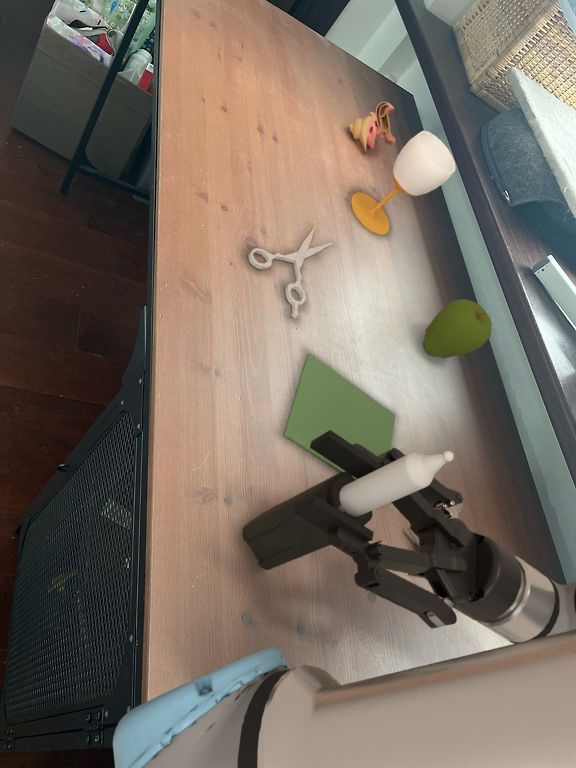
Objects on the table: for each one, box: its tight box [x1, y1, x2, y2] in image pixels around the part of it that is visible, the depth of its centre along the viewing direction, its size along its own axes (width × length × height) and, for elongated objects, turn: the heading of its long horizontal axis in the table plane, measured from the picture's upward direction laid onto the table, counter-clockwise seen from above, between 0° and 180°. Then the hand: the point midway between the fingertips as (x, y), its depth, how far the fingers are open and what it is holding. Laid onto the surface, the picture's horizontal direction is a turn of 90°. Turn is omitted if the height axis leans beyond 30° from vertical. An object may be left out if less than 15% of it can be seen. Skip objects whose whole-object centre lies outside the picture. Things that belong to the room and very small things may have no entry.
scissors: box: [247, 224, 335, 319], centre depth 90 cm, size 11×1×20 cm
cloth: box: [283, 352, 396, 480], centre depth 81 cm, size 14×16×1 cm
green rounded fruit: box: [422, 298, 493, 359], centre depth 98 cm, size 9×8×12 cm
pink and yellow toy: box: [349, 101, 397, 154], centre depth 119 cm, size 9×10×10 cm
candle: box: [241, 450, 455, 571], centre depth 56 cm, size 5×5×25 cm
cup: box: [350, 130, 456, 236], centre depth 104 cm, size 9×9×16 cm
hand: (312, 470), depth 53 cm, fingers closed on candle, 6 cm apart
